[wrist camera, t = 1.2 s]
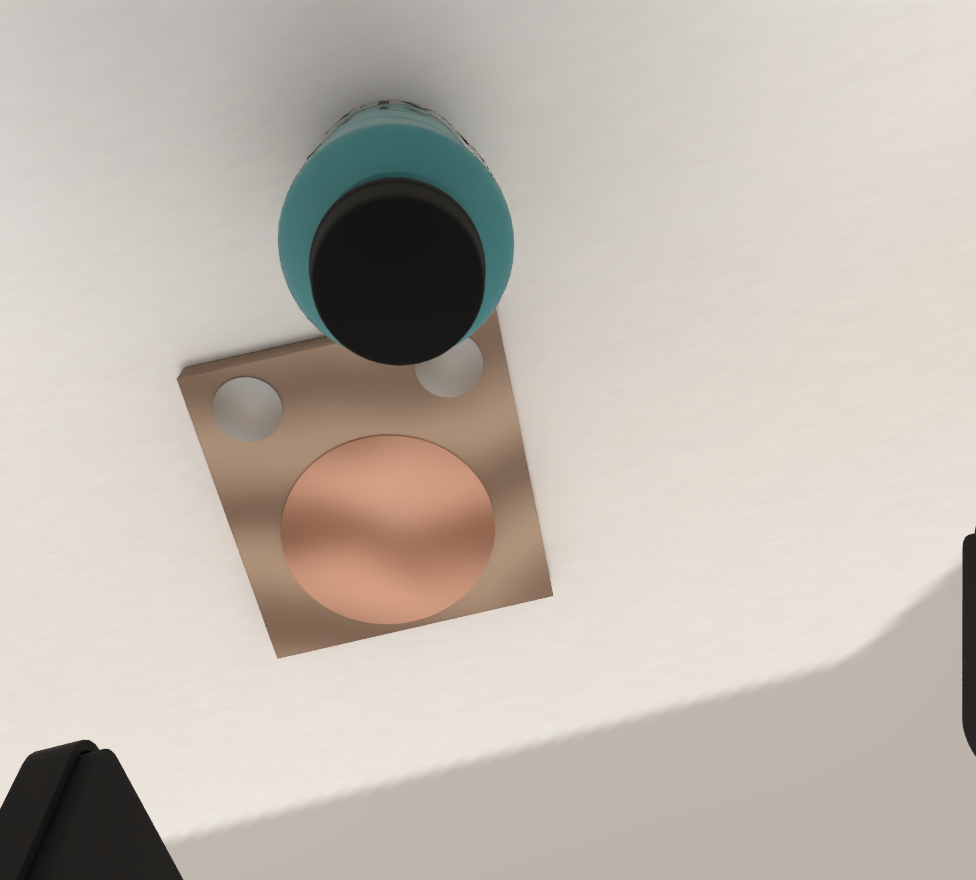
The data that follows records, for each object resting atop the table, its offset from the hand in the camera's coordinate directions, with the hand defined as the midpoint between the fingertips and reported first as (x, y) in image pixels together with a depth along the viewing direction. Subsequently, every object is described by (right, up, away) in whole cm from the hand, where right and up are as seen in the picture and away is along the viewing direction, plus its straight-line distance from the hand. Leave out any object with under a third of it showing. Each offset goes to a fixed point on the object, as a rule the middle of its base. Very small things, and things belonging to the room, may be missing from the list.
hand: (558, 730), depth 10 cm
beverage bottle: (-5, +14, +28) cm, 32 cm away
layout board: (-6, +1, +34) cm, 34 cm away
